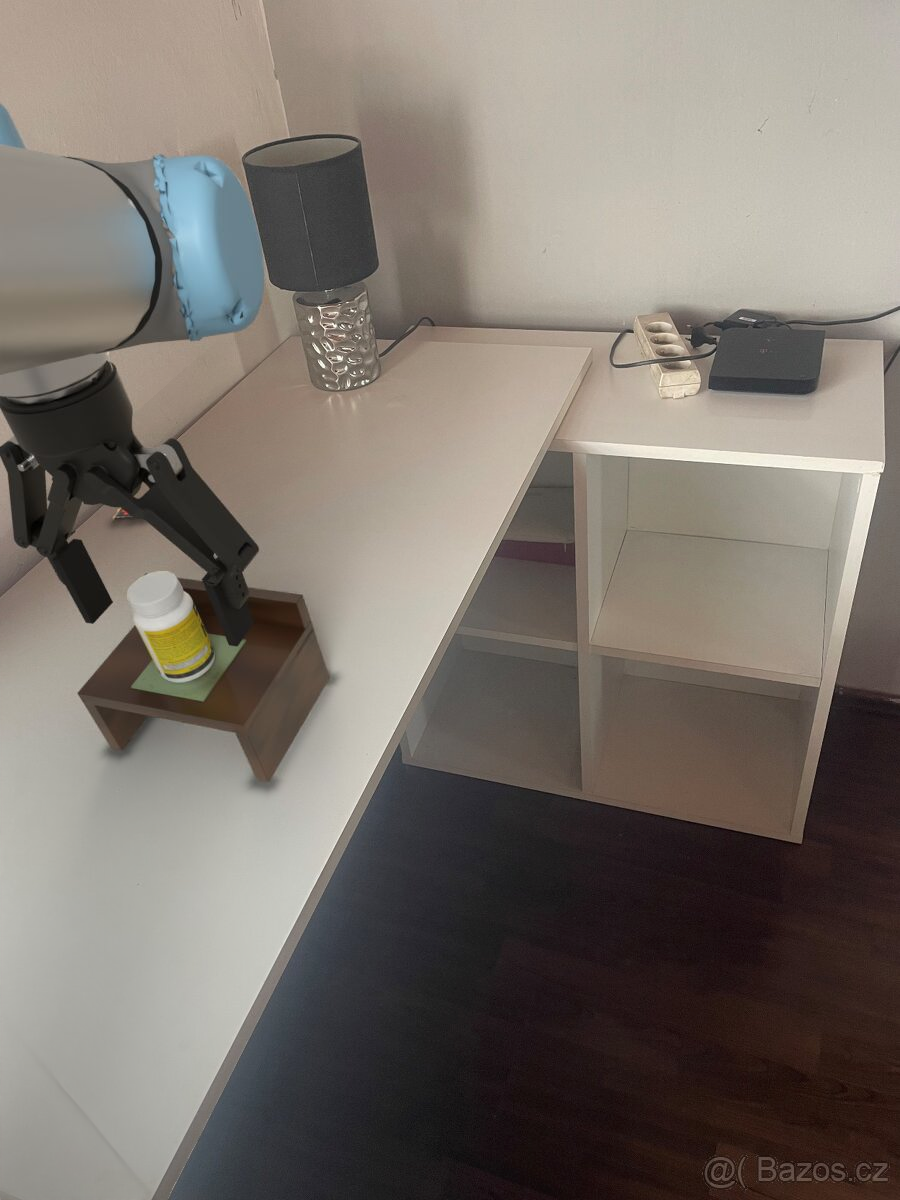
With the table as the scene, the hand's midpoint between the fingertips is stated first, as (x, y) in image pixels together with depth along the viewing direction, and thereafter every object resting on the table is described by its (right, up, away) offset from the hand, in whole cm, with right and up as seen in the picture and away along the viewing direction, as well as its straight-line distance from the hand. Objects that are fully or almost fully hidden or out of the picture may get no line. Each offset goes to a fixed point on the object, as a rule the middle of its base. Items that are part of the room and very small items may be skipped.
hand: (168, 623), depth 69 cm
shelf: (+2, -8, +9) cm, 12 cm away
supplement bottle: (+1, -4, +3) cm, 5 cm away
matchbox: (-16, +13, +36) cm, 42 cm away
